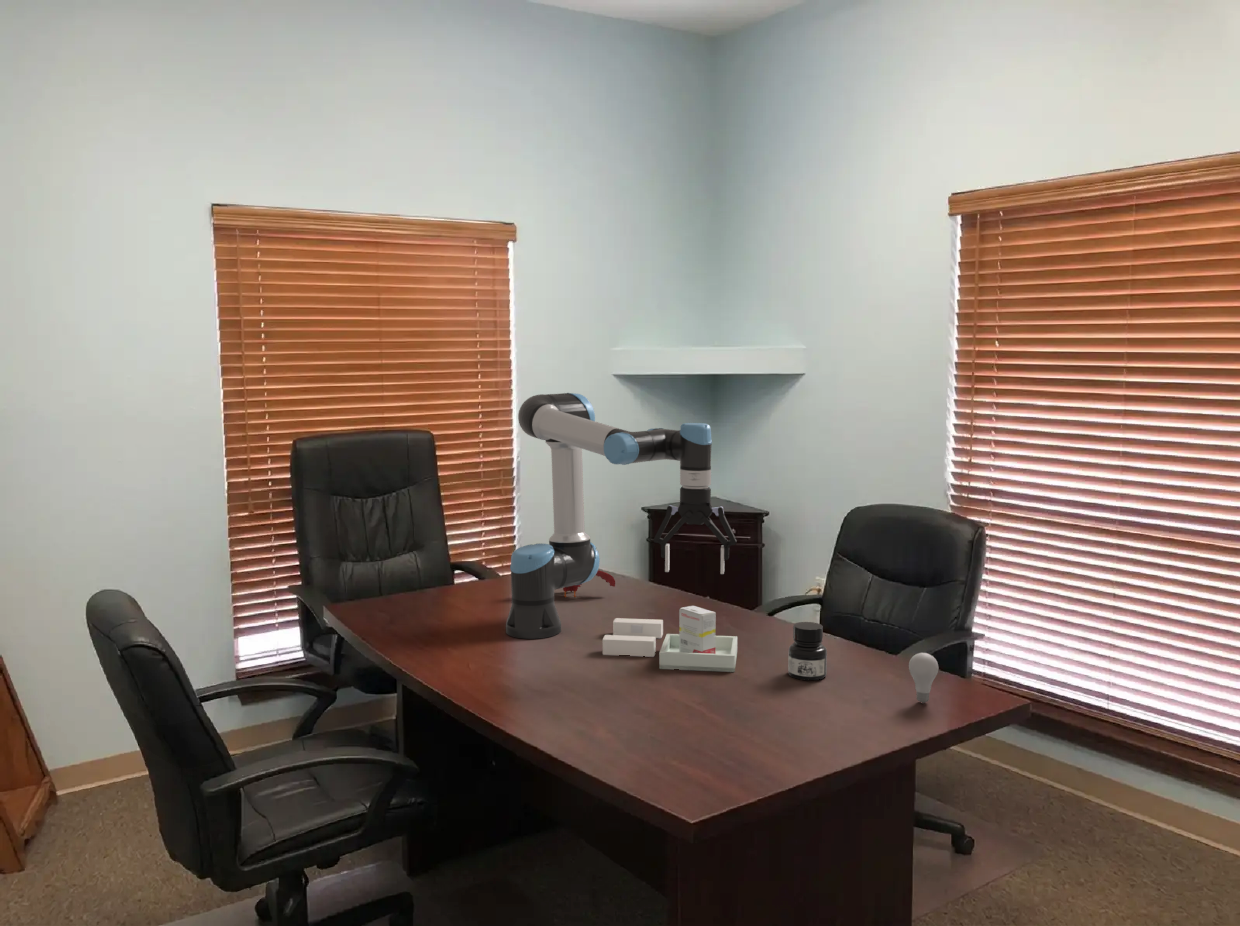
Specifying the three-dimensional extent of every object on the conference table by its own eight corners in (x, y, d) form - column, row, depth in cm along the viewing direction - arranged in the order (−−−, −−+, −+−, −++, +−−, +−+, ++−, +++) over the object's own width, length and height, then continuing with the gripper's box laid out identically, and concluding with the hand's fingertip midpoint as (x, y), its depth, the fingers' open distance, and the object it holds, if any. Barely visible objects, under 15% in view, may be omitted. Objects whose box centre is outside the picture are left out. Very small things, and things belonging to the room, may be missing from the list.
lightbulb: (933, 709, 205) (934, 659, 204) (904, 704, 208) (905, 654, 207) (940, 701, 210) (942, 651, 209) (912, 696, 213) (913, 647, 212)
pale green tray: (659, 668, 233) (659, 652, 233) (666, 648, 249) (666, 633, 248) (734, 672, 230) (734, 655, 230) (737, 651, 246) (737, 636, 245)
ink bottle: (782, 678, 225) (783, 628, 224) (790, 667, 233) (791, 618, 232) (824, 683, 222) (825, 632, 220) (831, 672, 230) (832, 622, 228)
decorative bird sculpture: (526, 609, 305) (522, 582, 294) (527, 584, 311) (523, 557, 300) (615, 608, 306) (615, 581, 294) (615, 583, 312) (615, 556, 300)
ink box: (716, 658, 238) (716, 611, 236) (702, 662, 234) (702, 614, 233) (693, 650, 244) (693, 604, 243) (678, 654, 241) (678, 607, 240)
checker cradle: (602, 654, 244) (602, 639, 244) (615, 632, 264) (615, 618, 264) (653, 656, 242) (653, 641, 242) (663, 634, 262) (662, 619, 261)
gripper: (642, 487, 235) (642, 573, 237) (746, 489, 230) (745, 577, 233) (646, 483, 242) (646, 566, 244) (747, 485, 238) (746, 570, 240)
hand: (694, 571), depth 239 cm, fingers open, 13 cm apart
